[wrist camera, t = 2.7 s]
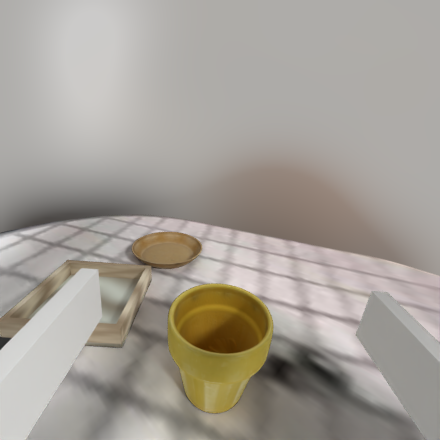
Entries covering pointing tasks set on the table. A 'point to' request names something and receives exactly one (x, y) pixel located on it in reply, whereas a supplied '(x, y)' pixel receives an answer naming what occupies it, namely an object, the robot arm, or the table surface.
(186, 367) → the plant pot
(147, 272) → the tray
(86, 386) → the table surface
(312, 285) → the table surface
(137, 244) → the plant saucer
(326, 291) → the table surface
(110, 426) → the table surface
